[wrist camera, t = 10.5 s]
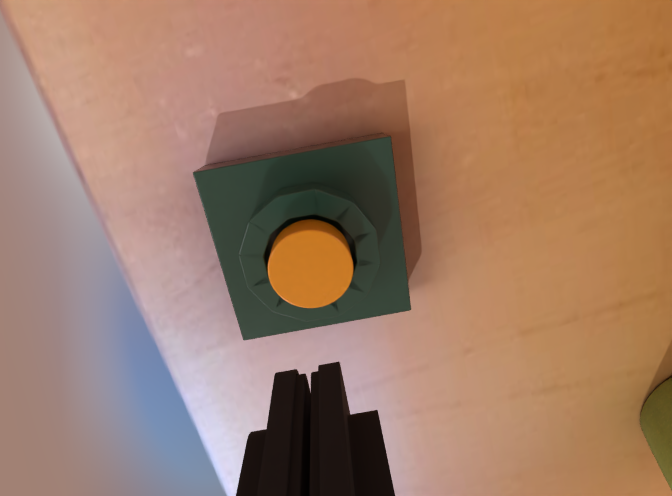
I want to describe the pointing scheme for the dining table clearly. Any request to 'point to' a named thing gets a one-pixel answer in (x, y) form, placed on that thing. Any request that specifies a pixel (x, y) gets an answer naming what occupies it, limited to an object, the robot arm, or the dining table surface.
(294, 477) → the robot arm
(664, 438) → the flower pot
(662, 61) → the dining table surface
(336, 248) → the button
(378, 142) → the switch box
